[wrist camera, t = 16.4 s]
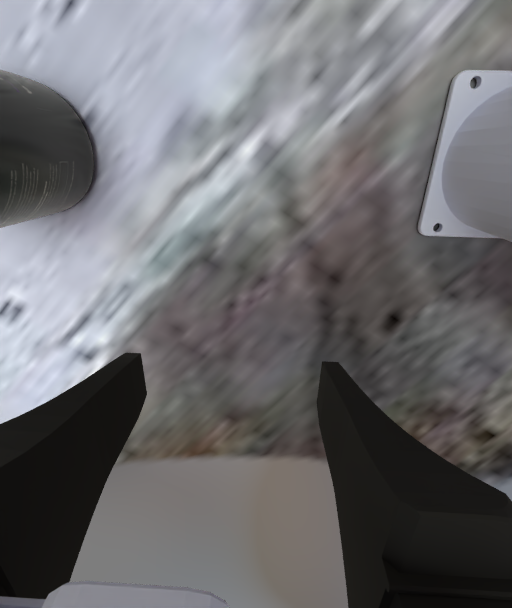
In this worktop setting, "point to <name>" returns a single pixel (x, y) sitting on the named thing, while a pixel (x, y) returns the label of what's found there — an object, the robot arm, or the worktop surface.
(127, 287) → the worktop surface
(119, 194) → the worktop surface
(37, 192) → the supplement bottle
